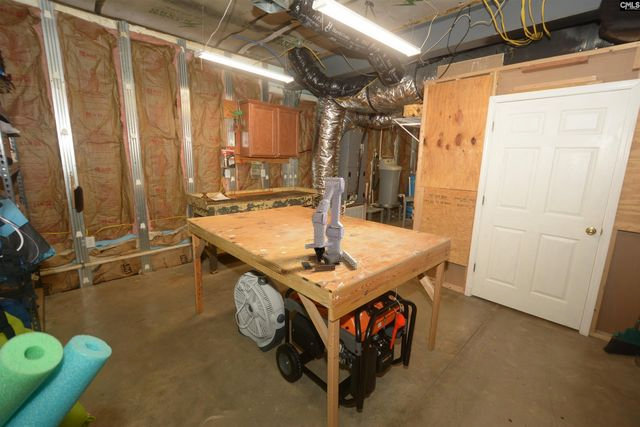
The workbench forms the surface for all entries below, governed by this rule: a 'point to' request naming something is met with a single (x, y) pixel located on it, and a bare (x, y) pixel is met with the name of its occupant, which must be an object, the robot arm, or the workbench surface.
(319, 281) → the workbench surface
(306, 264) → the strip
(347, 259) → the cream plank
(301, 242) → the workbench surface
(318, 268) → the brown wooden board
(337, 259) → the pipe
